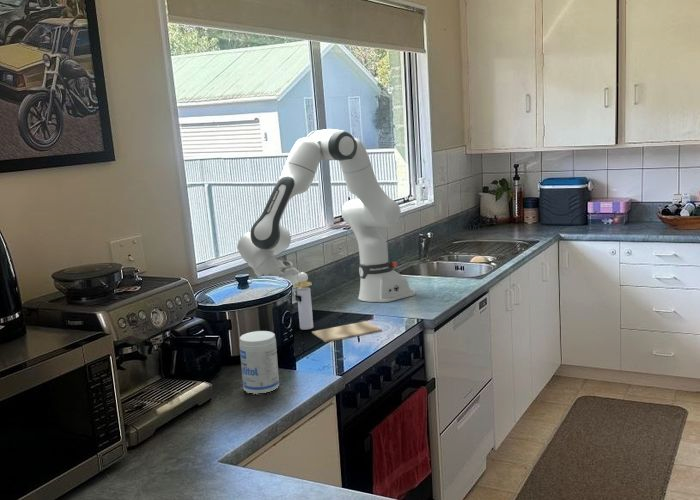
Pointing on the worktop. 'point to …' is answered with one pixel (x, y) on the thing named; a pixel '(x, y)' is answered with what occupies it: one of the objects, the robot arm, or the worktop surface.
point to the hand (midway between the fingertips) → (295, 302)
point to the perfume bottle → (304, 301)
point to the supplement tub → (259, 362)
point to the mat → (346, 331)
